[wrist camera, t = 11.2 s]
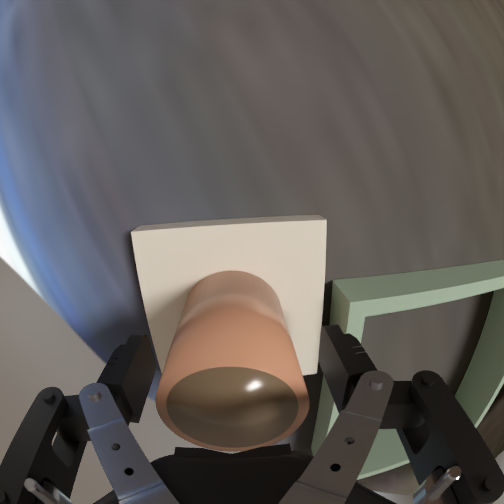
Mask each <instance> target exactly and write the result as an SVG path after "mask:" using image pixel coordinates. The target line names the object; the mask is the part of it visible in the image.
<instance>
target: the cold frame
mask: <svg viewBox="0 0 504 504" xmlns="http://www.w3.org/2000/svg"><path fill="white" fill-rule="evenodd" d="M490 291H494V294H493V298H492V301H491V305H490V308H489V312H488V315H487V318H486V321H485V324H484V327H483V330H482V333H481V336H480V339H479V341H478V344H477V347H476V349H475V352H474V354H473V357H472V359H471V362H470V364H469V366H468V369H467V371H466V373H465V375H464V378H463V380H462V382H461V384H460V386H459V388H458V390H457V392H456V394H455V398H456V399H457V401H458V402H459V403H460V405H461V406H462V408H463V409H464V411H465V412H466V414H467V415H468V417H469V418H470V420H471V421H472V423H473V424H474V426H475V427H476V428H477V426H478V425H479V423H480V422H481V420H482V419H483V417H484V416H485V414H486V413H487V411H488V410H489V408H490V406H491V405H492V403H493V401H494V400H495V398H496V396H497V394H498V393H499V391H500V389H501V387H502V385H503V383H504V260H498V261H491V262H484V263H478V264H471V265H463V266H456V267H448V268H441V269H433V270H425V271H416V272H408V273H399V274H390V275H380V276H371V277H361V278H350V279H339V280H333V283H332V297H331V310H330V321H329V325H336V324H338V325H339V327H340V328H341V330H342V332H343V333H344V334H347V333H350V334H351V335H353V336H354V337H356V338H357V339H358V340H359V342H360V344H361V338H362V332H363V326H364V320H365V317H366V316H373V315H379V314H385V313H391V312H397V311H403V310H409V309H414V308H419V307H424V306H430V305H434V304H439V303H444V302H449V301H453V300H458V299H462V298H466V297H470V296H475V295H479V294H483V293H486V292H490ZM338 415H339V413H338V410H337V407H336V405H335V402H334V400H333V397H332V395H331V392H330V389H329V387H328V384H327V382H326V379H325V377H324V374H323V380H322V387H321V394H320V400H319V407H318V413H317V418H316V424H315V429H314V435H313V440H312V445H311V450H312V454H313V456H315V454H316V453H317V451H318V450H319V448H320V446H321V445H322V443H323V441H324V440H325V438H326V436H327V435H328V433H329V431H330V430H331V428H332V426H333V424H334V423H335V421H336V419H337V417H338ZM407 463H410V461H409V459H408V456H407V454H406V452H405V449H404V447H403V445H402V442H401V440H400V438H399V436H398V433H397V431H396V429H379V430H378V433H377V435H376V438H375V440H374V443H373V445H372V447H371V450H370V452H369V454H368V457H367V459H366V461H365V463H364V465H363V468H362V470H361V472H360V474H359V476H358V478H357V480H359V479H362V478H366V477H369V476H372V475H376V474H379V473H382V472H385V471H388V470H391V469H394V468H396V467H399V466H402V465H404V464H407Z"/></svg>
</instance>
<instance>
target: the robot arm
mask: <svg viewBox="0 0 504 504" xmlns="http://www.w3.org/2000/svg"><path fill="white" fill-rule="evenodd" d="M319 363H320V367H321V369H322V372H323V374H324V377H325V379H326V382H327V384H328V387H329V389H330V392H331V395H332V397H333V400H334V402H335V405H336V407H337V410H338V413H339V415H338V417H337V419H336V421H335V423H334V424H333V426H332V428H331V430H330V431H329V433H328V435H327V436H326V438H325V440H324V441H323V443H322V445H321V446H320V448H319V450H318V451H317V453H316V454H315V456H312V455H310V454H306V453H302V452H296V451H291V448H290V444H283V445H274V446H262V447H258V448H254V449H251V450H247V451H243V452H239V453H234V454H229V453H223V452H218V451H213V450H208V449H204V448H182V447H175V453H174V455H168V456H164V457H162V458H159V459H156V460H154V461H153V462H151V463H150V462H149V461H148V459H147V458H146V456H145V455H144V453H143V451H142V450H141V448H140V446H139V445H138V443H137V442H136V440H135V438H134V436H133V434H132V433H131V431H130V429H129V427H128V426H129V423H130V422H134V423H139V420H140V417H141V414H142V410H143V407H144V404H145V401H146V398H147V395H148V392H149V389H150V386H151V383H152V380H153V377H154V374H155V360H154V357H153V353H152V350H151V346H150V342H149V339H148V337H147V335H130V337H129V339H128V341H127V342H126V344H125V345H120V346H119V347H118V348H117V349H116V350H114V352H113V354H112V355H111V357H110V359H109V361H108V363H107V365H106V366H105V368H104V370H103V372H102V373H101V375H100V377H99V379H98V381H97V383H92V384H90V385H87V386H85V387H84V388H83V389H82V390H81V391H80V394H79V395H72V396H64V395H63V393H62V391H61V390H60V389H59V388H56V387H49V388H45V389H43V390H42V391H41V392H40V393H39V394H38V395H37V397H36V398H35V400H34V402H33V404H32V405H31V407H30V409H29V410H28V412H27V414H26V416H25V418H24V419H23V421H22V423H21V425H20V427H19V429H18V431H17V433H16V434H15V436H14V438H13V440H12V442H11V444H10V446H9V448H8V450H7V452H6V454H5V457H4V459H3V461H2V463H1V465H0V504H73V503H72V502H71V500H70V496H71V492H72V489H73V485H74V482H75V478H76V475H77V472H78V468H79V465H80V462H81V459H82V455H83V453H84V449H85V446H86V443H87V441H92V444H93V446H94V449H95V451H96V454H97V456H98V458H99V460H100V463H101V465H102V467H103V469H104V471H105V473H106V475H107V478H108V480H109V482H110V484H111V485H112V488H113V491H111V492H110V493H108V494H107V495H105V496H104V497H102V498H101V499H100V500H98V501H96V502H95V503H93V504H396V503H394V502H392V501H390V500H388V499H386V498H384V497H383V496H381V495H379V494H377V493H375V492H373V491H372V490H370V489H368V488H366V487H365V486H363V485H361V484H359V483H358V482H356V480H357V478H358V476H359V474H360V472H361V470H362V468H363V465H364V463H365V461H366V459H367V457H368V454H369V452H370V450H371V447H372V445H373V443H374V440H375V438H376V435H377V433H378V430H379V429H396V431H397V433H398V436H399V438H400V440H401V442H402V445H403V447H404V449H405V452H406V454H407V456H408V459H409V461H410V464H411V466H412V468H413V471H414V473H415V476H416V478H417V481H418V483H419V487H418V488H417V489H416V491H415V493H414V495H413V504H492V503H493V502H494V501H496V500H497V499H498V498H499V497H500V496H501V495H502V494H503V492H504V474H503V472H502V471H501V469H500V468H499V465H498V464H497V462H496V460H495V458H494V457H493V455H492V453H491V452H490V450H489V448H488V447H487V445H486V443H485V442H484V440H483V439H482V437H481V435H480V434H479V432H478V431H477V429H476V427H475V426H474V424H473V423H472V421H471V420H470V418H469V417H468V415H467V414H466V412H465V411H464V409H463V408H462V406H461V405H460V403H459V402H458V401H457V399H456V398H455V396H454V395H453V393H452V392H451V390H450V389H449V388H448V386H447V385H446V383H445V382H444V381H443V379H442V378H441V377H440V376H439V375H438V374H437V373H435V372H432V371H426V370H425V371H420V372H417V373H416V374H415V375H414V376H413V378H412V381H393V379H392V377H391V376H390V375H388V374H387V373H385V372H382V371H378V370H377V369H376V367H375V366H374V364H373V362H372V361H371V359H370V358H369V356H368V354H367V353H366V352H365V350H364V348H363V347H362V345H361V344H360V342H359V340H358V339H357V338H356V337H354V336H353V335H351V334H350V333H347V334H344V333H343V332H342V330H341V328H340V327H339V325H338V324H336V325H328V326H322V327H321V333H320V344H319ZM56 432H57V436H56V438H55V440H54V443H53V446H52V439H53V437H54V435H55V433H56Z"/></svg>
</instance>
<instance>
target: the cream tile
mask: <svg viewBox="0 0 504 504" xmlns="http://www.w3.org/2000/svg"><path fill="white" fill-rule="evenodd" d="M326 222H327V220H326V219H324V218H323V217H321V216H320V215H299V216H276V217H255V218H237V219H221V220H206V221H192V222H178V223H166V224H154V225H142V226H139V227H137V228H136V229H134V230H133V231H131V236H132V243H133V249H134V255H135V261H136V267H137V273H138V278H139V283H140V288H141V293H142V298H143V303H144V307H145V312H146V316H147V320H148V325H149V329H150V333H151V337H152V341H153V344H154V348H155V352H156V355H157V359H158V363H159V366H160V369H161V373H163V369H164V366H165V363H166V360H167V356H168V353H169V350H170V347H171V344H172V341H173V337H174V334H175V331H176V328H177V325H178V322H179V319H180V316H181V313H182V310H183V307H184V304H185V301H186V299H187V296H188V294H189V293H190V291H191V290H192V288H193V287H194V286H195V285H196V284H197V283H198V282H199V281H201V280H202V279H204V278H205V277H207V276H209V275H211V274H214V273H217V272H222V271H230V270H231V271H243V272H247V273H251V274H253V275H255V276H258V277H259V278H261V279H263V280H264V281H265V282H267V283H268V284H269V285H270V286H271V287H272V288H273V290H274V291H275V292H276V294H277V296H278V298H279V301H280V303H281V307H282V310H283V313H284V316H285V319H286V323H287V326H288V329H289V332H290V336H291V339H292V342H293V345H294V349H295V352H296V355H297V359H298V362H299V365H300V368H301V372H302V375H310V374H317V367H318V358H319V344H320V333H321V326H322V314H323V299H324V282H325V261H326Z"/></svg>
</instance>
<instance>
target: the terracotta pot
mask: <svg viewBox="0 0 504 504" xmlns="http://www.w3.org/2000/svg"><path fill="white" fill-rule="evenodd" d="M309 402H310V401H309V395H308V392H307V388H306V385H305V382H304V378H303V375H302V372H301V368H300V365H299V362H298V359H297V355H296V352H295V349H294V345H293V342H292V339H291V336H290V332H289V329H288V326H287V323H286V319H285V316H284V313H283V310H282V307H281V303H280V301H279V298H278V296H277V294H276V292H275V291H274V290H273V288H272V287H271V286H270V285H269V284H268V283H267V282H265V281H264V280H263V279H261V278H259V277H258V276H255V275H253V274H251V273H247V272H243V271H231V270H230V271H222V272H217V273H214V274H211V275H209V276H207V277H205V278H204V279H202V280H201V281H199V282H198V283H197V284H196V285H195V286H194V287H193V288H192V290H191V291H190V293H189V294H188V296H187V299H186V301H185V304H184V307H183V310H182V313H181V316H180V319H179V322H178V325H177V328H176V331H175V334H174V337H173V341H172V344H171V347H170V350H169V353H168V356H167V360H166V363H165V366H164V369H163V373H162V376H161V379H160V383H159V386H158V390H157V393H156V408H157V411H158V414H159V416H160V418H161V419H162V421H163V422H164V423H165V424H166V426H167V427H168V428H169V429H170V430H172V431H173V432H174V433H175V434H176V435H178V436H179V437H181V438H183V439H184V440H187V441H189V442H191V443H193V444H195V445H198V446H201V447H205V448H209V449H213V450H219V451H247V450H251V449H254V448H258V447H262V446H270V445H272V444H275V443H277V442H279V441H281V440H283V439H285V438H286V437H288V436H289V435H291V434H292V433H293V432H295V431H296V430H297V429H298V428H299V427H300V426H301V424H302V423H303V421H304V420H305V418H306V416H307V414H308V410H309Z"/></svg>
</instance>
